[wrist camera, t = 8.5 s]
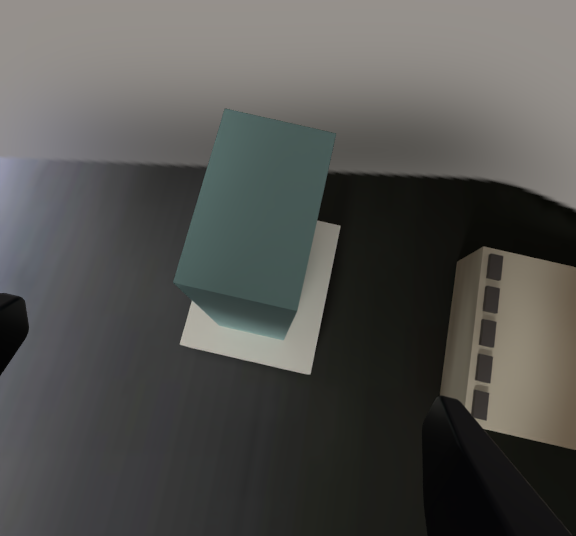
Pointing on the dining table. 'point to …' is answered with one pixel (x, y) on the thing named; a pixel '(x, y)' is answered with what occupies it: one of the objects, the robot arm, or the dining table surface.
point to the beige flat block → (514, 345)
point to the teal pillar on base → (260, 244)
